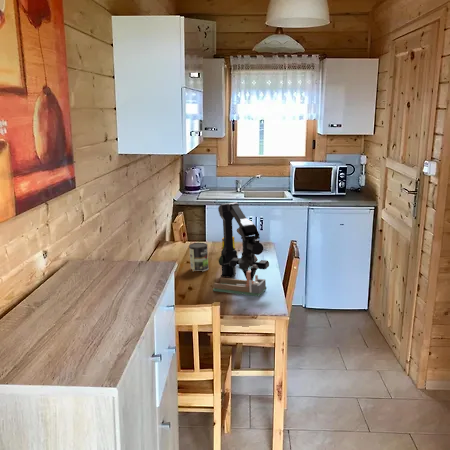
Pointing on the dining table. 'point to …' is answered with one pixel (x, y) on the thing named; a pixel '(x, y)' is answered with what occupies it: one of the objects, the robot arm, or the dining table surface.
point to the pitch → (231, 287)
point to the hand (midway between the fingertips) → (249, 280)
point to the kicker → (247, 279)
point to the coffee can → (198, 256)
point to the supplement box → (223, 243)
